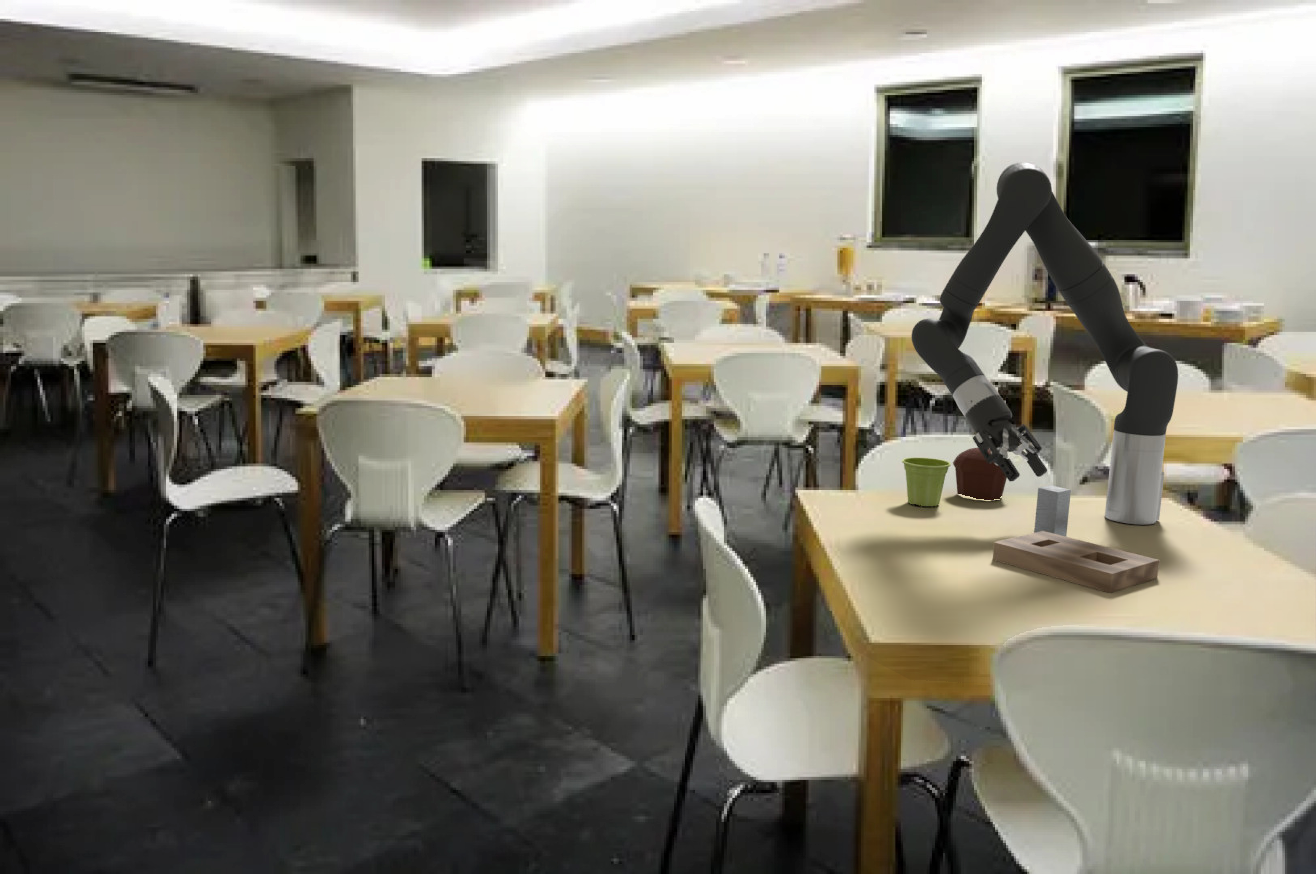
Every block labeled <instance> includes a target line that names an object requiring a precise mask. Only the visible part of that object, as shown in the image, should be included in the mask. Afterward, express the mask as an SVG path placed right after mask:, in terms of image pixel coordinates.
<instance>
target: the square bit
mask: <svg viewBox="0 0 1316 874" xmlns="http://www.w3.org/2000/svg"><path fill="white" fill-rule="evenodd" d="M1071 492H1072V489H1070V488H1069V489H1068V488H1064V487H1061V486H1060V487H1059V486H1055V485H1046V486H1040V487H1038V488H1037V497H1036V498H1037V499H1036V509H1035V521H1034V530H1033V533H1036V532H1040V531H1045V532H1049V533H1053V534H1057V535H1061V536H1065V537H1067V533H1068V524H1069V523H1068V522H1069V514H1070V503H1071V494H1072V493H1071Z"/></svg>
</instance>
